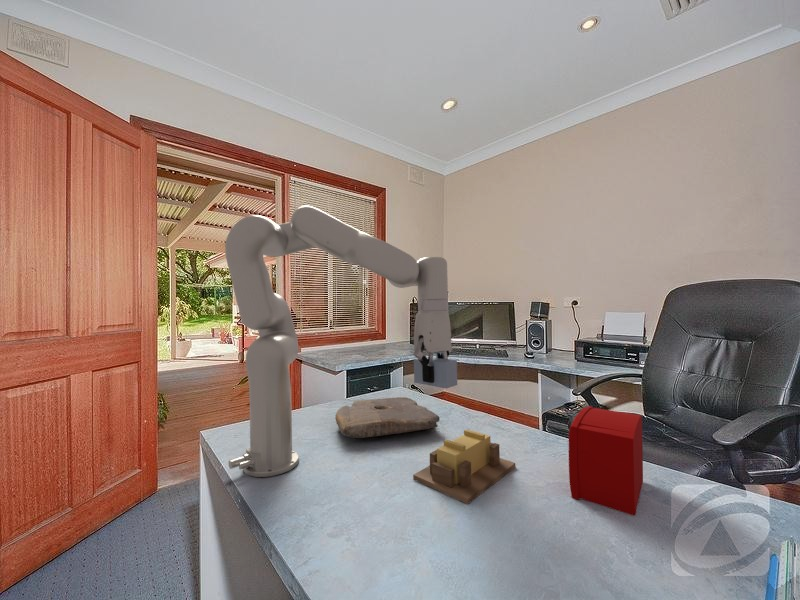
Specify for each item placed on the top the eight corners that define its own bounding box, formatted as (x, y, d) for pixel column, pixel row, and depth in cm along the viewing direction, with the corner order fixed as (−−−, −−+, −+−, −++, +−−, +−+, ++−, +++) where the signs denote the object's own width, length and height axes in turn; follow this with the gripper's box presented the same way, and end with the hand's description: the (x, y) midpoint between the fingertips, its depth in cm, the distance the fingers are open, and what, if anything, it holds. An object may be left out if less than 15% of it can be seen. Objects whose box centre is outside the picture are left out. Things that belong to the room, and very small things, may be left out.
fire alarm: (587, 466, 81) (585, 401, 81) (643, 480, 74) (641, 410, 74) (569, 497, 68) (567, 421, 68) (634, 518, 61) (633, 433, 61)
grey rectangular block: (446, 388, 81) (446, 363, 81) (414, 382, 88) (413, 359, 88) (457, 384, 85) (456, 360, 85) (425, 379, 92) (424, 356, 92)
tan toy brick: (456, 484, 72) (456, 450, 72) (437, 476, 75) (436, 444, 75) (490, 461, 82) (490, 431, 82) (472, 455, 85) (471, 426, 85)
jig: (467, 504, 66) (467, 475, 66) (413, 479, 76) (412, 454, 76) (515, 467, 81) (515, 443, 81) (464, 450, 91) (464, 429, 91)
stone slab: (445, 436, 101) (444, 414, 101) (345, 452, 91) (345, 428, 91) (407, 406, 130) (406, 390, 130) (328, 416, 120) (328, 398, 120)
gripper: (441, 306, 95) (442, 372, 95) (399, 308, 83) (400, 384, 83) (464, 306, 90) (466, 376, 90) (423, 307, 78) (425, 389, 78)
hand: (434, 379), depth 87 cm, fingers closed on grey rectangular block, 4 cm apart
